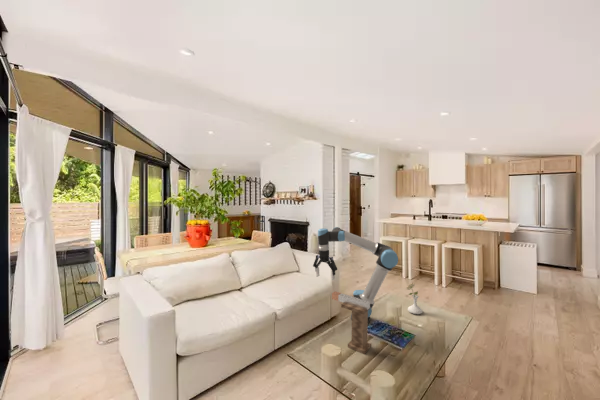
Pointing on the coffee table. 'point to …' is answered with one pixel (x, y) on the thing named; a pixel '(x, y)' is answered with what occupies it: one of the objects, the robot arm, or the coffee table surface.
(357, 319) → the walnut stand
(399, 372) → the coffee table surface
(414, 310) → the flower in vase
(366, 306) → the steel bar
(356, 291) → the robot arm
